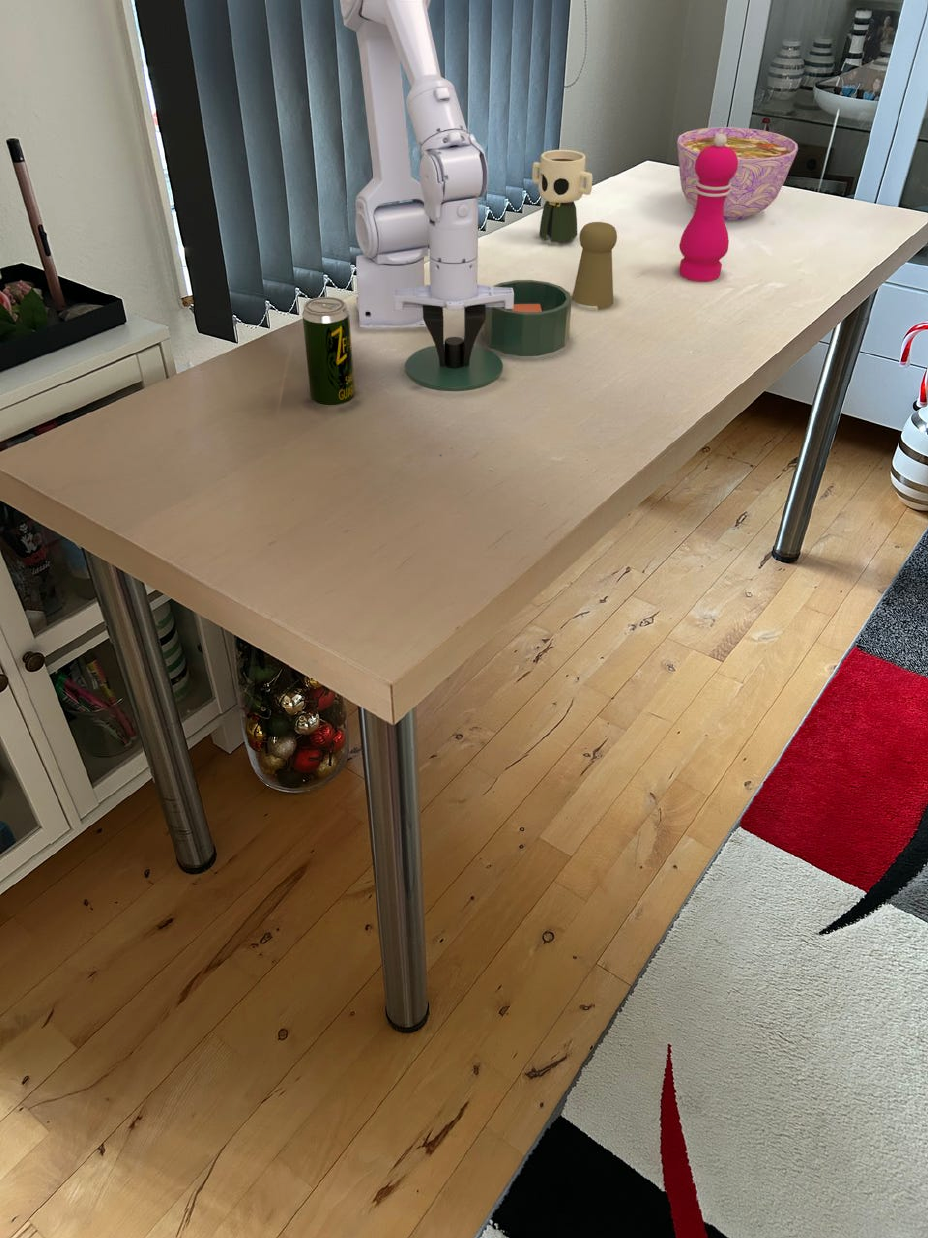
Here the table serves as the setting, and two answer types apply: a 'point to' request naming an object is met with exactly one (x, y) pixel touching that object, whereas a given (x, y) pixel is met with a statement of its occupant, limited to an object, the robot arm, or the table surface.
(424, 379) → the lid
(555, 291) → the pot
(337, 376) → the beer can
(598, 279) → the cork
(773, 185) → the bowl of food
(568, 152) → the character mug
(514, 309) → the block
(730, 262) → the table surface
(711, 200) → the pepper mill
